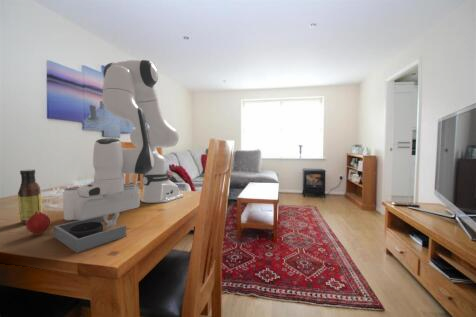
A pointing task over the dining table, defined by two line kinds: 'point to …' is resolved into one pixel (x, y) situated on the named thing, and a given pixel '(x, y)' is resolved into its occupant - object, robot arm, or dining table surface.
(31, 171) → the sauce bottle
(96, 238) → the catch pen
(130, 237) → the dining table surface
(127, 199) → the robot arm
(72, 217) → the can
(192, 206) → the dining table surface
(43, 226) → the onion
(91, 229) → the smart speaker
